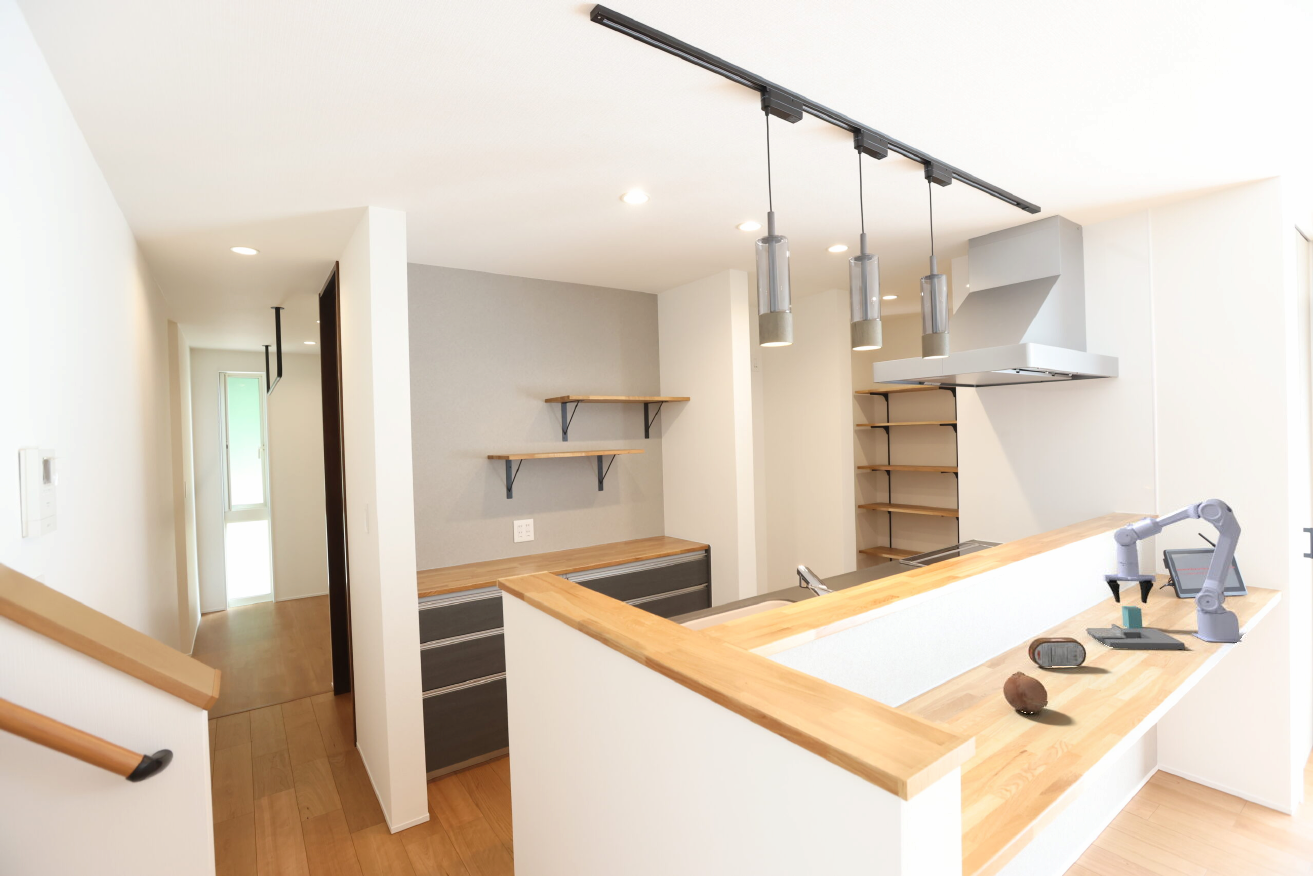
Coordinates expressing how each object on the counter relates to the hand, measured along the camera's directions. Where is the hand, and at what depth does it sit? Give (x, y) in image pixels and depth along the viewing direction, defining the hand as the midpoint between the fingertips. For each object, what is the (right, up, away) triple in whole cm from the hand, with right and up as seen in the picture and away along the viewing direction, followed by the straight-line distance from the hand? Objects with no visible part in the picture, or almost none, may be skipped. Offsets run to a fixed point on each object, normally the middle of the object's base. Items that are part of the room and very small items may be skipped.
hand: (1130, 602), depth 216 cm
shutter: (-18, -7, -12) cm, 23 cm away
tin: (-46, -11, -33) cm, 57 cm away
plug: (+1, -9, 0) cm, 9 cm away
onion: (-72, -11, -61) cm, 95 cm away
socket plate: (-10, -9, -14) cm, 19 cm away
